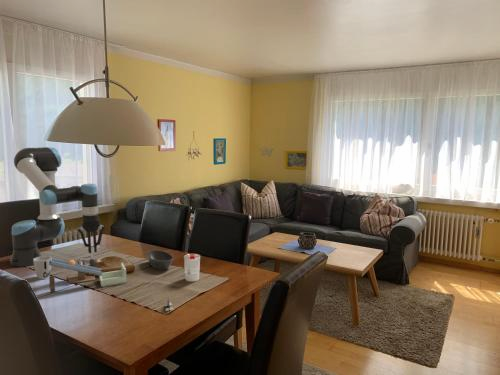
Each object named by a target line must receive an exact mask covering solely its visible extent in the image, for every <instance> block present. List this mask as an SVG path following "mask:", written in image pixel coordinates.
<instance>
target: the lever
mask: <svg viewBox="0 0 500 375" xmlns="http://www.w3.org/2000/svg"><path fill="white" fill-rule="evenodd" d="M78 260H79V264H78V263H77V262H75V265H74V266H72V265H68V261H66V260H62V259H57V258H52V257H51V258H50V261H49V265H50V266H51V267H56V268H59V269H60V268H61V269H66V270H71V271H75V272H78V271H79V272H84V273H89V274H94V276H98V277H99V276H101V275H102V273H104V272H103V271H102V268H99V267H96V266H97V264H98V261H97V258H95V259H91V258H90V259H85V258H81V257H79V258H78ZM83 260H84V263H89V264H88V265H83V264H82V263H83Z"/></svg>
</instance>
